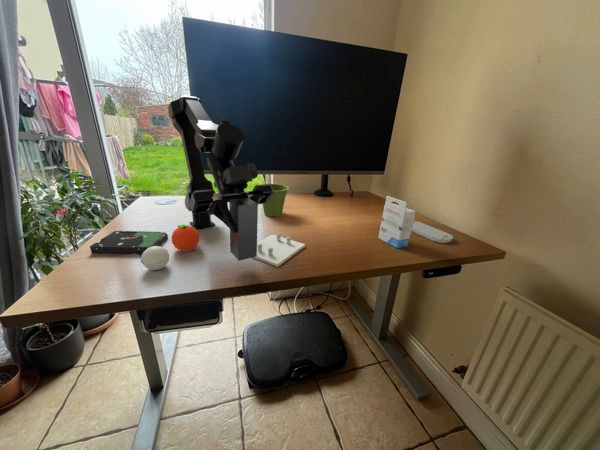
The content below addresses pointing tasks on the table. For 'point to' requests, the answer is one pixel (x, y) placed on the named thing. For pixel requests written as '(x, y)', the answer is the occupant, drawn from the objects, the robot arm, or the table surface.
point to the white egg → (155, 258)
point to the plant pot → (276, 201)
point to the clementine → (185, 238)
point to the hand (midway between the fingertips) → (246, 230)
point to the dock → (277, 249)
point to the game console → (431, 232)
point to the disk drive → (128, 242)
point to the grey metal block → (244, 228)
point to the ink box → (396, 223)
